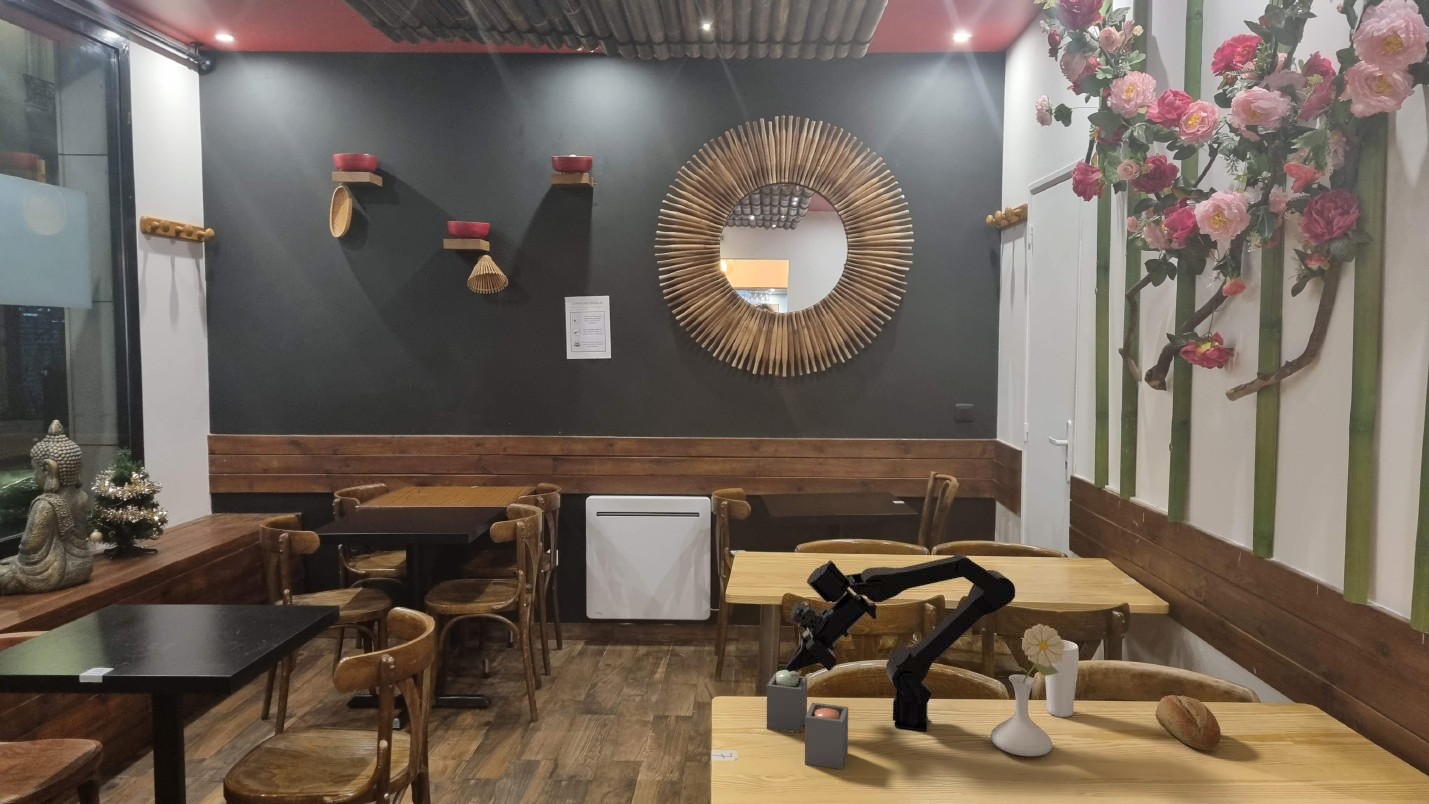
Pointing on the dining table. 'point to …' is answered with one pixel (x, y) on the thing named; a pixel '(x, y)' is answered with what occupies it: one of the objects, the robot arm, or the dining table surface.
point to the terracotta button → (827, 713)
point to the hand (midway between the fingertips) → (787, 669)
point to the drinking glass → (1063, 682)
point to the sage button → (787, 678)
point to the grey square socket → (786, 705)
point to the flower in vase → (1020, 729)
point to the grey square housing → (826, 737)
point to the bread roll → (1189, 721)
